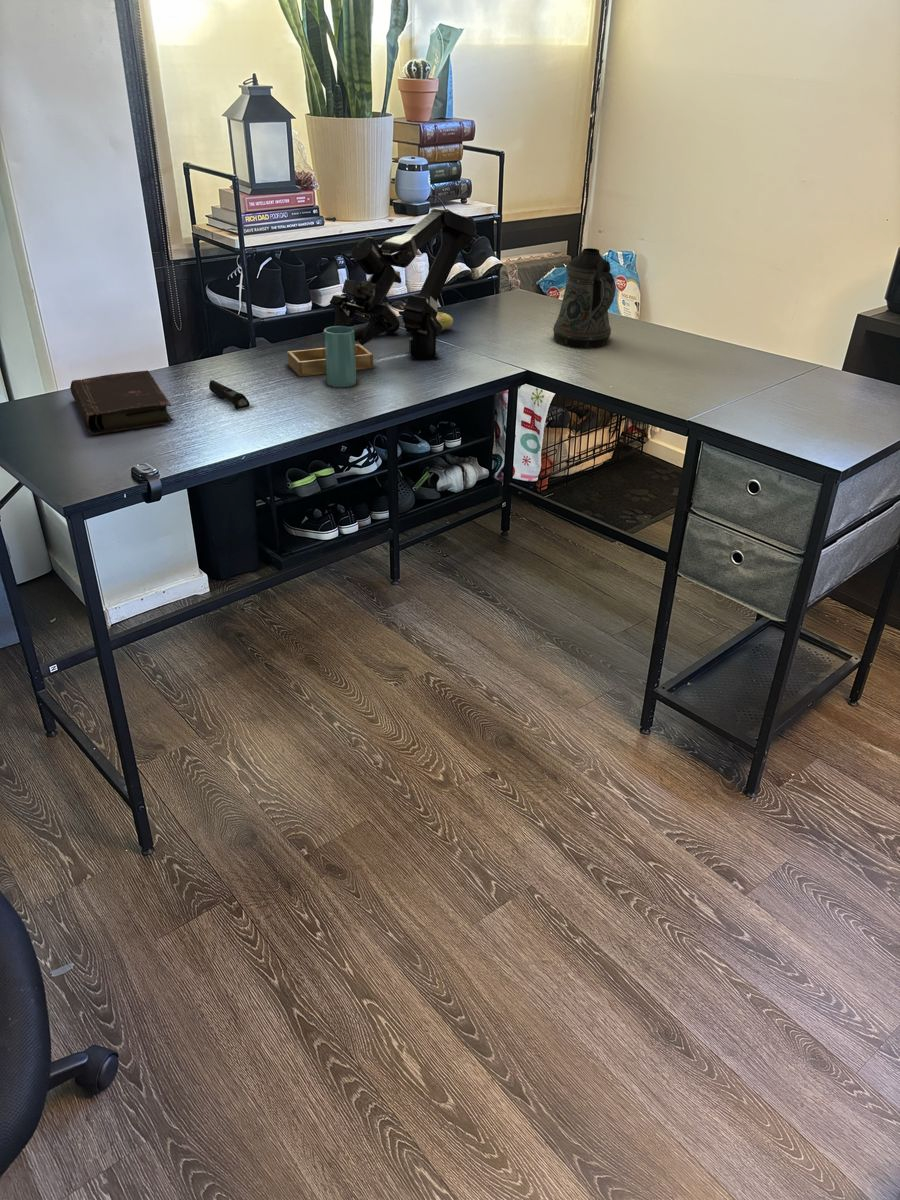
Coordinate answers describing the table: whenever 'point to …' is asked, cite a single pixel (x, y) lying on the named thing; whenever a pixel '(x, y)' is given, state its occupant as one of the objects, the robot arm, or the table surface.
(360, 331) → the microphone
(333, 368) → the tumbler
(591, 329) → the beer stein
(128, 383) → the diary
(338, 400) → the table surface
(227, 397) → the electric trimmer
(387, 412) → the table surface
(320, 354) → the divided wooden tray
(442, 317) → the plant cell model
